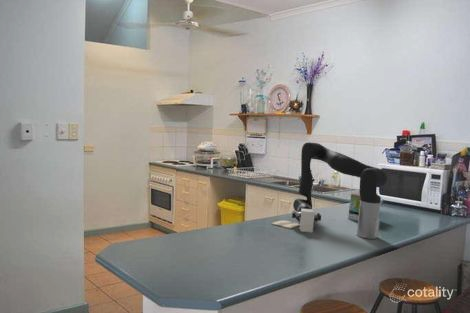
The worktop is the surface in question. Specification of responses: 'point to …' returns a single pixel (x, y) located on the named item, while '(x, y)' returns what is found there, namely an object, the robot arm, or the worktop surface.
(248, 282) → the worktop surface
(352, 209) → the tea box
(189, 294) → the worktop surface
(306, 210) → the white rectangular block
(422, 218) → the worktop surface
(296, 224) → the cork mat
